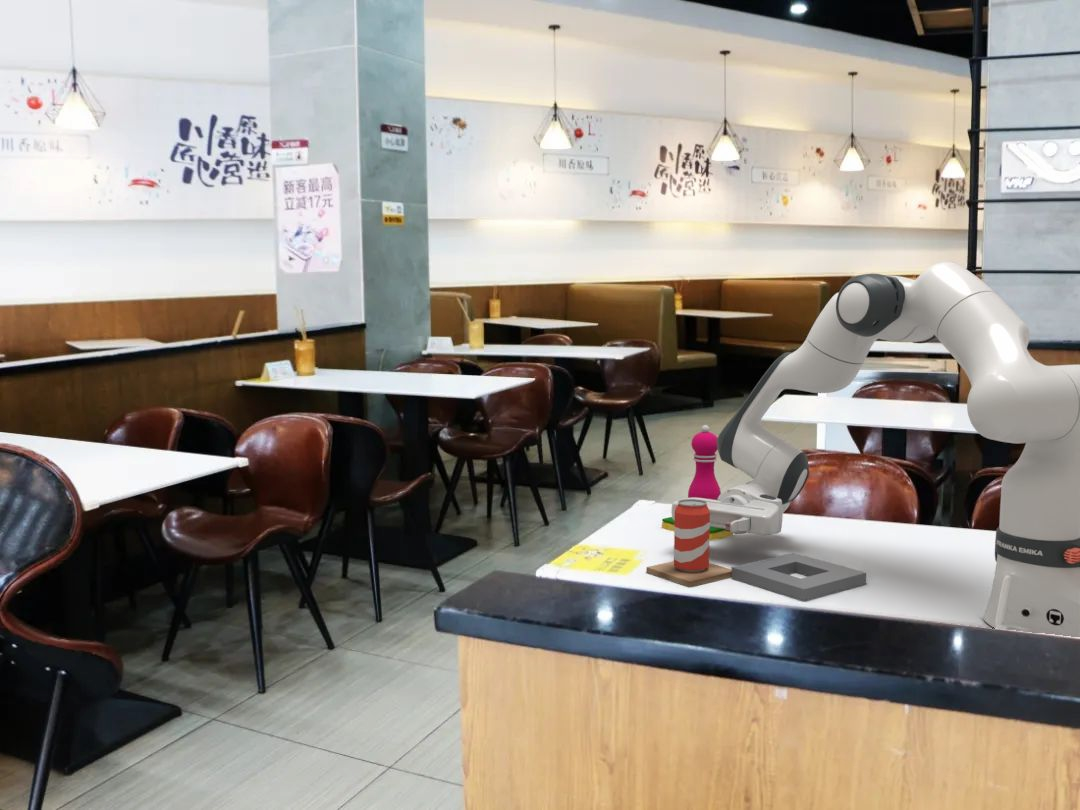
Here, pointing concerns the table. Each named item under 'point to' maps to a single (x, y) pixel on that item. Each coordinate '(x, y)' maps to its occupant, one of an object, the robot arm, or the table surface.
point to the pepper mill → (704, 466)
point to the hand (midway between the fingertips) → (705, 523)
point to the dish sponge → (714, 532)
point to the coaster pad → (689, 574)
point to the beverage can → (691, 535)
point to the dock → (776, 577)
